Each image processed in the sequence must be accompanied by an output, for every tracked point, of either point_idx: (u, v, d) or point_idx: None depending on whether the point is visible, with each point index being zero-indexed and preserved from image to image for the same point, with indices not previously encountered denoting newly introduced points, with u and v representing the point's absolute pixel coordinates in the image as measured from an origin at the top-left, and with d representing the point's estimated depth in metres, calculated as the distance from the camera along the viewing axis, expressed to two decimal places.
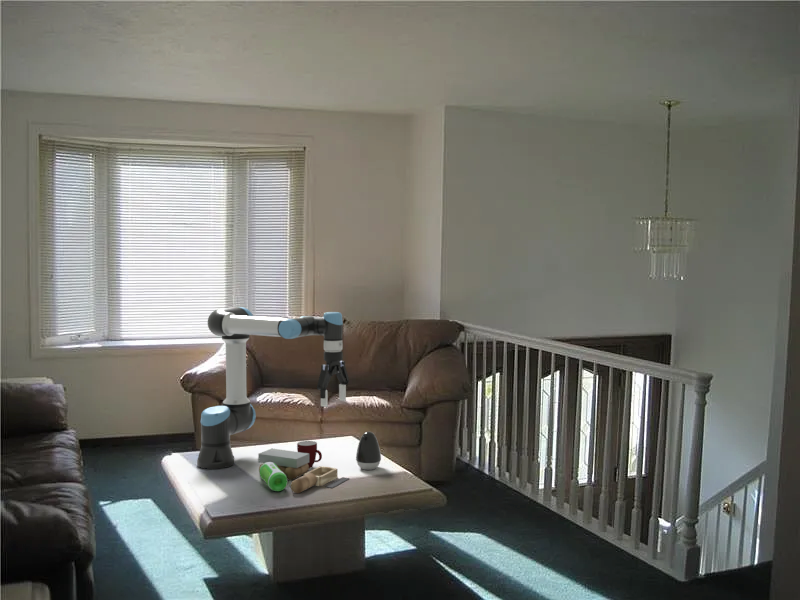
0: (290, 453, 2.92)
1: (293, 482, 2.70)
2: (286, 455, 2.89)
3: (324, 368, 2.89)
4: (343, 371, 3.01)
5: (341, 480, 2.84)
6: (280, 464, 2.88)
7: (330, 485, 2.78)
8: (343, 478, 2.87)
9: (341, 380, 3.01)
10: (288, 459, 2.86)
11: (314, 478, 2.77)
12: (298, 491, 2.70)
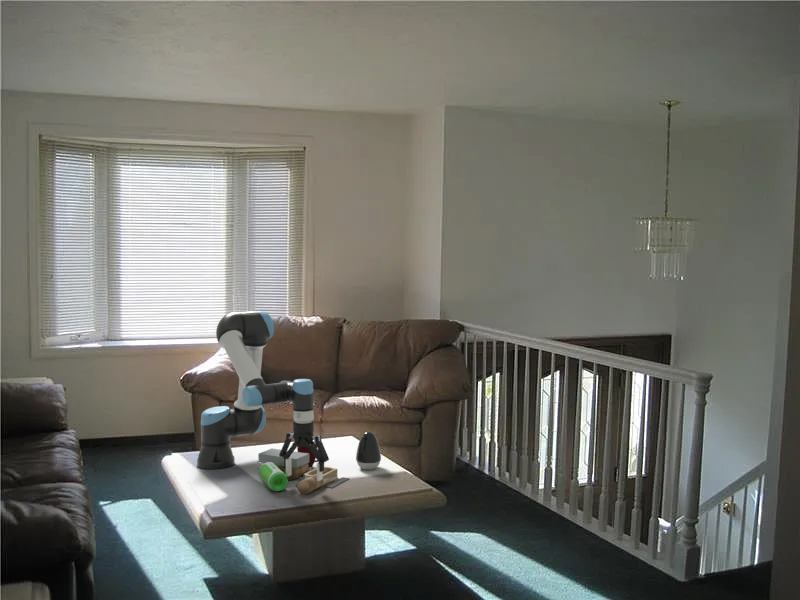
0: None
1: (304, 483, 2.68)
2: None
3: None
4: None
5: (341, 480, 2.84)
6: (280, 464, 2.88)
7: (330, 485, 2.78)
8: (343, 478, 2.87)
9: None
10: None
11: (319, 486, 2.76)
12: (300, 491, 2.69)
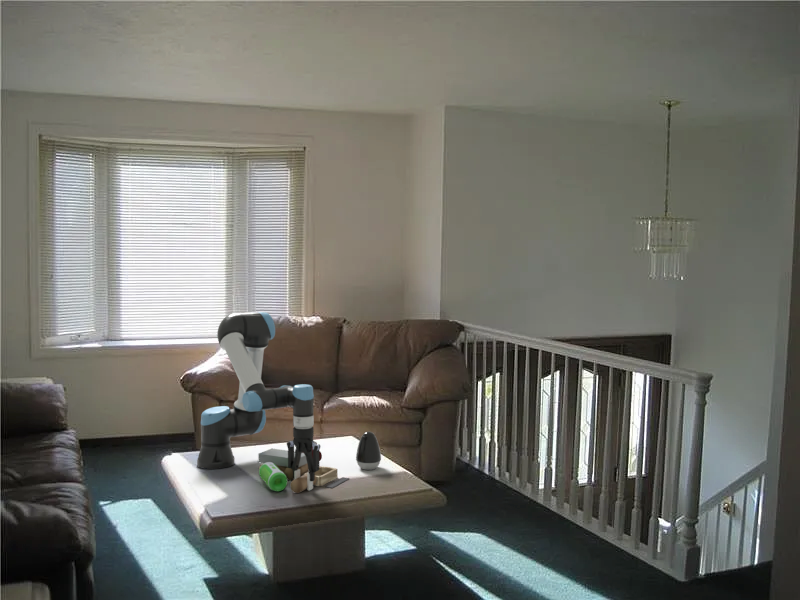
0: None
1: (293, 482, 2.70)
2: (286, 455, 2.89)
3: None
4: None
5: (341, 480, 2.84)
6: (280, 464, 2.88)
7: (330, 485, 2.78)
8: (343, 478, 2.87)
9: None
10: None
11: None
12: (298, 491, 2.70)
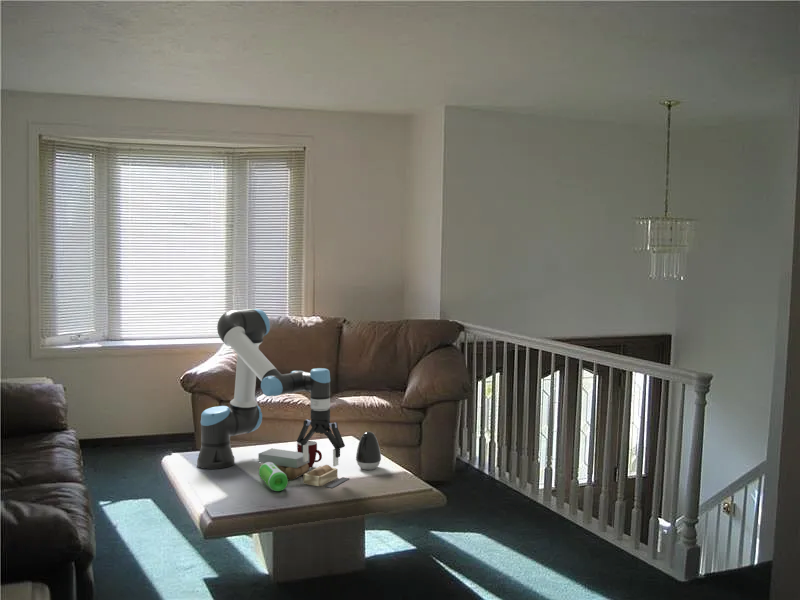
0: (290, 453, 2.92)
1: (310, 473, 2.81)
2: (286, 455, 2.89)
3: None
4: None
5: (341, 480, 2.84)
6: (280, 464, 2.88)
7: (330, 485, 2.78)
8: (343, 478, 2.87)
9: None
10: (288, 459, 2.86)
11: (330, 470, 2.87)
12: None
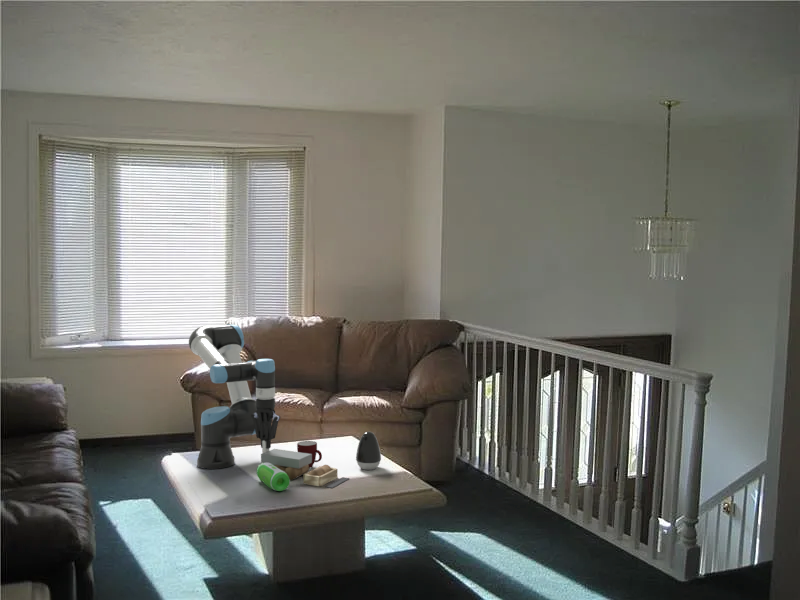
0: (292, 453, 2.92)
1: (309, 474, 2.81)
2: (288, 455, 2.89)
3: None
4: None
5: (341, 480, 2.84)
6: (282, 464, 2.87)
7: (330, 485, 2.78)
8: (343, 478, 2.87)
9: None
10: (290, 459, 2.85)
11: (329, 469, 2.88)
12: None
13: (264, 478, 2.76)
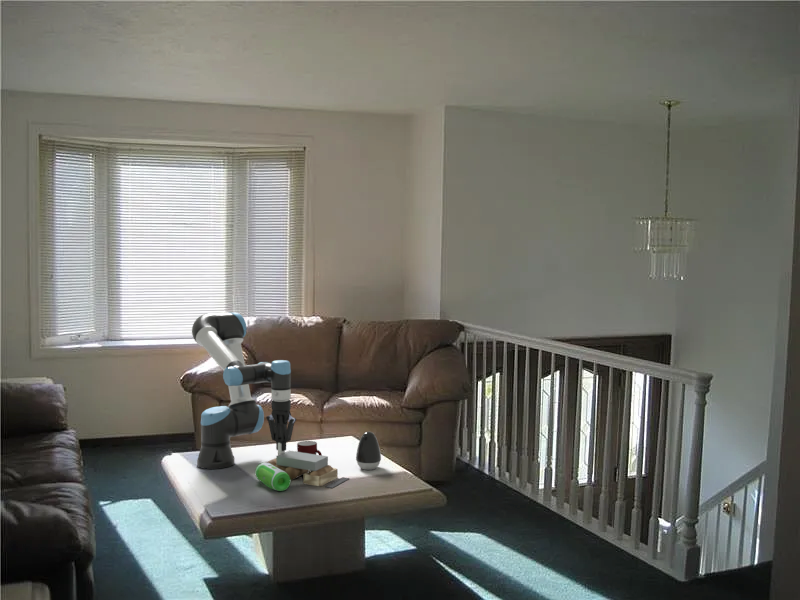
0: (308, 456, 2.89)
1: (312, 473, 2.81)
2: (304, 458, 2.86)
3: None
4: None
5: (341, 480, 2.84)
6: (298, 467, 2.84)
7: (330, 485, 2.78)
8: (343, 478, 2.87)
9: None
10: (307, 462, 2.82)
11: None
12: None
13: (264, 478, 2.76)
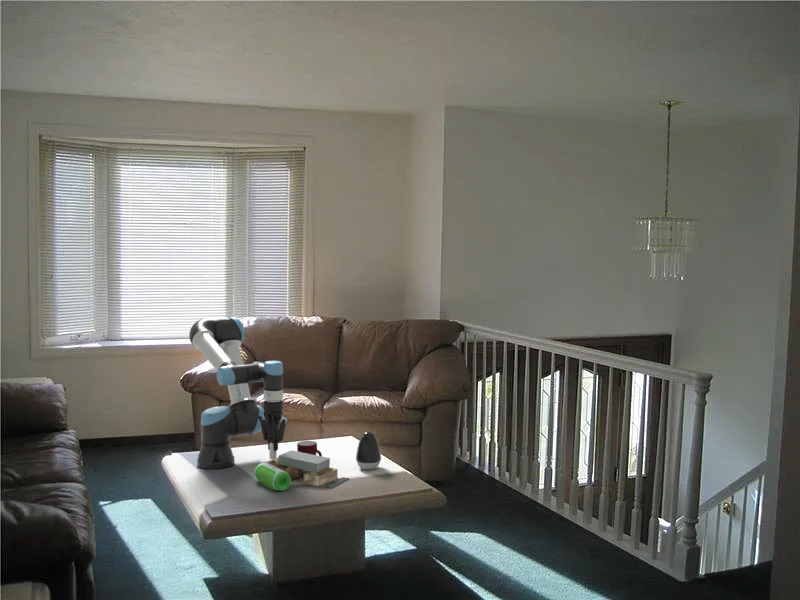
0: (310, 457, 2.88)
1: (312, 473, 2.81)
2: (306, 459, 2.85)
3: None
4: None
5: (341, 480, 2.84)
6: (300, 468, 2.84)
7: (330, 485, 2.78)
8: (343, 478, 2.87)
9: None
10: (309, 463, 2.82)
11: None
12: None
13: (264, 478, 2.76)
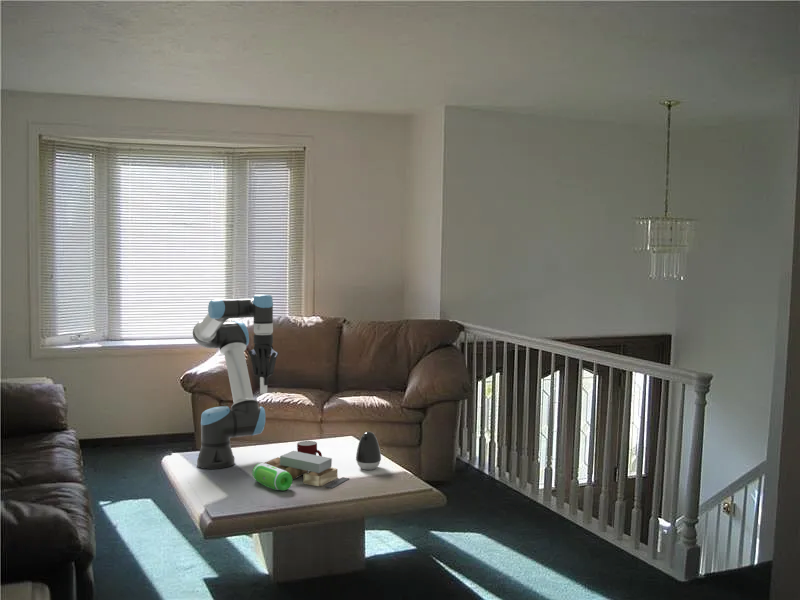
0: (312, 457, 2.88)
1: (313, 474, 2.80)
2: (308, 459, 2.85)
3: None
4: None
5: (341, 480, 2.84)
6: (302, 468, 2.83)
7: (330, 485, 2.78)
8: (343, 478, 2.87)
9: None
10: (310, 463, 2.81)
11: None
12: None
13: (264, 479, 2.76)
